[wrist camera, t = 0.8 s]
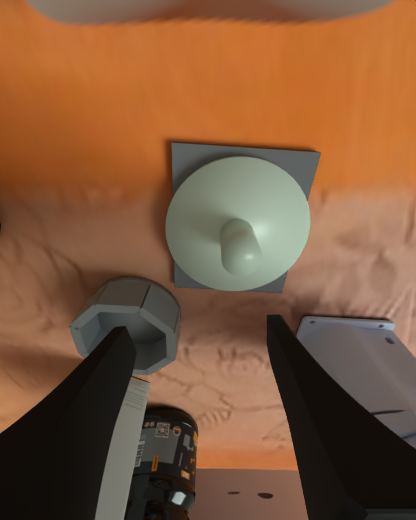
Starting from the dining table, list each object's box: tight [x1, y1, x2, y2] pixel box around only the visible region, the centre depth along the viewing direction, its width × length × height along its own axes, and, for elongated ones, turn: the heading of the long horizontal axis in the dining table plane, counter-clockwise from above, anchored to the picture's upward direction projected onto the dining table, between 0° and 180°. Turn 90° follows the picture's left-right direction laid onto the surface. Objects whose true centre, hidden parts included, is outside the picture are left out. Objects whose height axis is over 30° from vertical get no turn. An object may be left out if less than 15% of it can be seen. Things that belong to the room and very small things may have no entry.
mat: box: [172, 142, 321, 293], centre depth 19 cm, size 10×12×1 cm
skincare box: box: [95, 377, 150, 520], centre depth 24 cm, size 8×6×15 cm
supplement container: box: [124, 408, 198, 520], centre depth 31 cm, size 10×10×12 cm
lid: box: [165, 156, 310, 291], centre depth 16 cm, size 11×11×4 cm
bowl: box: [69, 276, 181, 375], centre depth 22 cm, size 9×9×4 cm
